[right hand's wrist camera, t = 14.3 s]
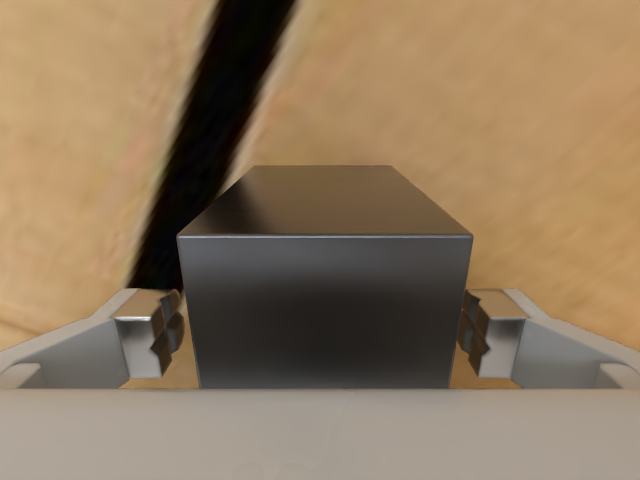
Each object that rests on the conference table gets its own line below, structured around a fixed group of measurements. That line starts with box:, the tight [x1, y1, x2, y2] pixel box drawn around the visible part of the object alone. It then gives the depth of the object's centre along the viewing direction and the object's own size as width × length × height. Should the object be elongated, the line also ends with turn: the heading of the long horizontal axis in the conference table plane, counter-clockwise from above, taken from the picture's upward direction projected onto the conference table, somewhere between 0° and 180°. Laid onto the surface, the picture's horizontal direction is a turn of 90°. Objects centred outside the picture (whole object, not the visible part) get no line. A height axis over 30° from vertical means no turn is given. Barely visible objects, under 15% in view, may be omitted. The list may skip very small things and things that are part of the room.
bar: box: [177, 166, 473, 389], centre depth 14 cm, size 24×5×8 cm, turn 0°
